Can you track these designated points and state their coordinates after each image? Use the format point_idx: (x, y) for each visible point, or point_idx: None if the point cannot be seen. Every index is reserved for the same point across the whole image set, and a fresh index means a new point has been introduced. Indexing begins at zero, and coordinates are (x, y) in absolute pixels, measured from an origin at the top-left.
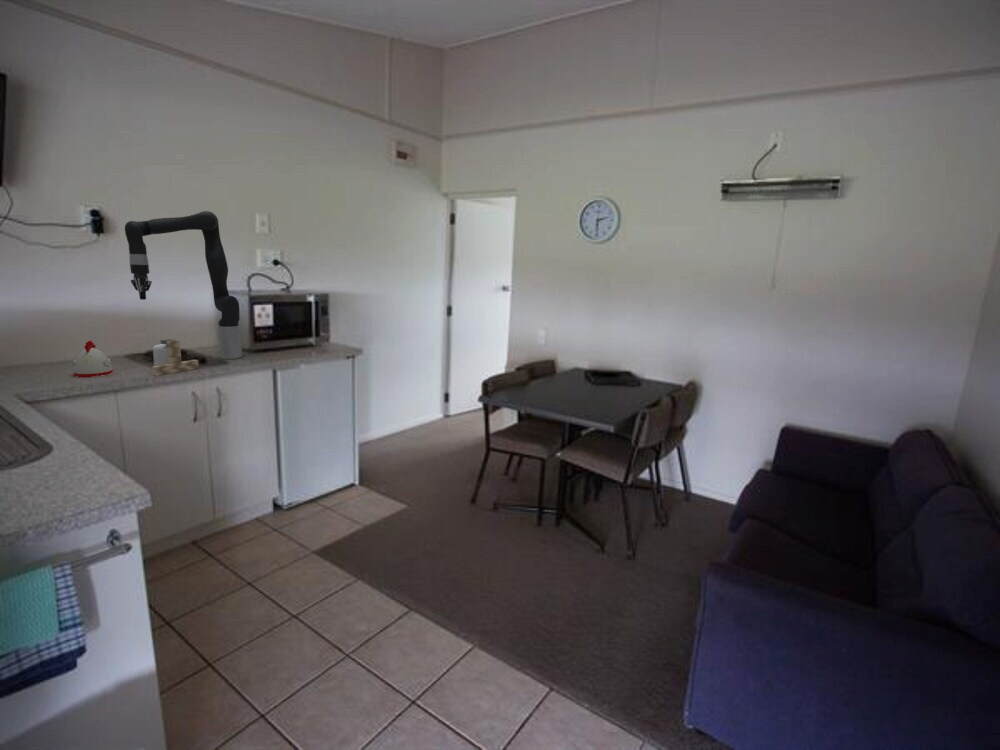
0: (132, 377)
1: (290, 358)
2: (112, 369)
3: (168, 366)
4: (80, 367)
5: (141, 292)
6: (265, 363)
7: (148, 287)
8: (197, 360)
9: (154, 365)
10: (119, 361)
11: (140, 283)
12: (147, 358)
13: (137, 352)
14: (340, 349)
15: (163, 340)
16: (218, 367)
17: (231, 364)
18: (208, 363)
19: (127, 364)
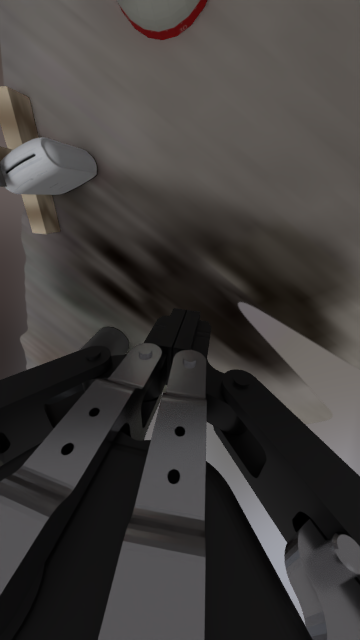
0: (29, 25)
1: None
2: (128, 16)
3: (7, 136)
4: None
5: (156, 346)
6: (28, 324)
7: (51, 406)
8: (32, 231)
9: (79, 148)
10: (288, 185)
11: (57, 433)
12: (252, 261)
13: (354, 310)
14: None
15: None
16: (37, 260)
17: (52, 294)
18: (88, 281)
19: (223, 165)
